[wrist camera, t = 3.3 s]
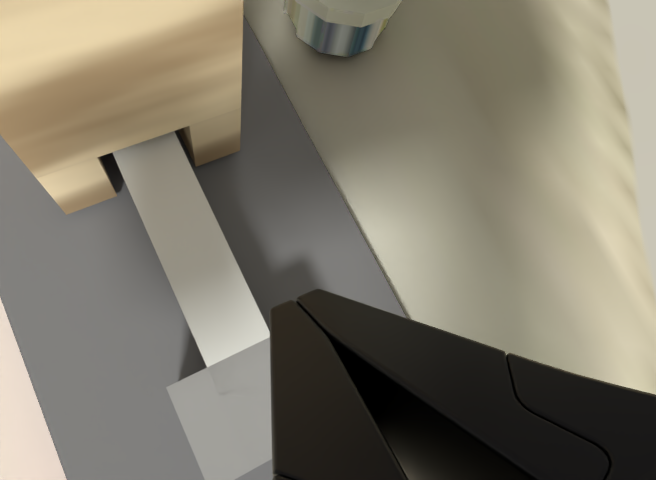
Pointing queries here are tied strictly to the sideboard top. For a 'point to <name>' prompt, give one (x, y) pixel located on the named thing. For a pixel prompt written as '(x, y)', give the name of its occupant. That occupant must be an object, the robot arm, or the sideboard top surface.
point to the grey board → (176, 292)
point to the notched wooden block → (116, 84)
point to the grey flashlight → (340, 23)
